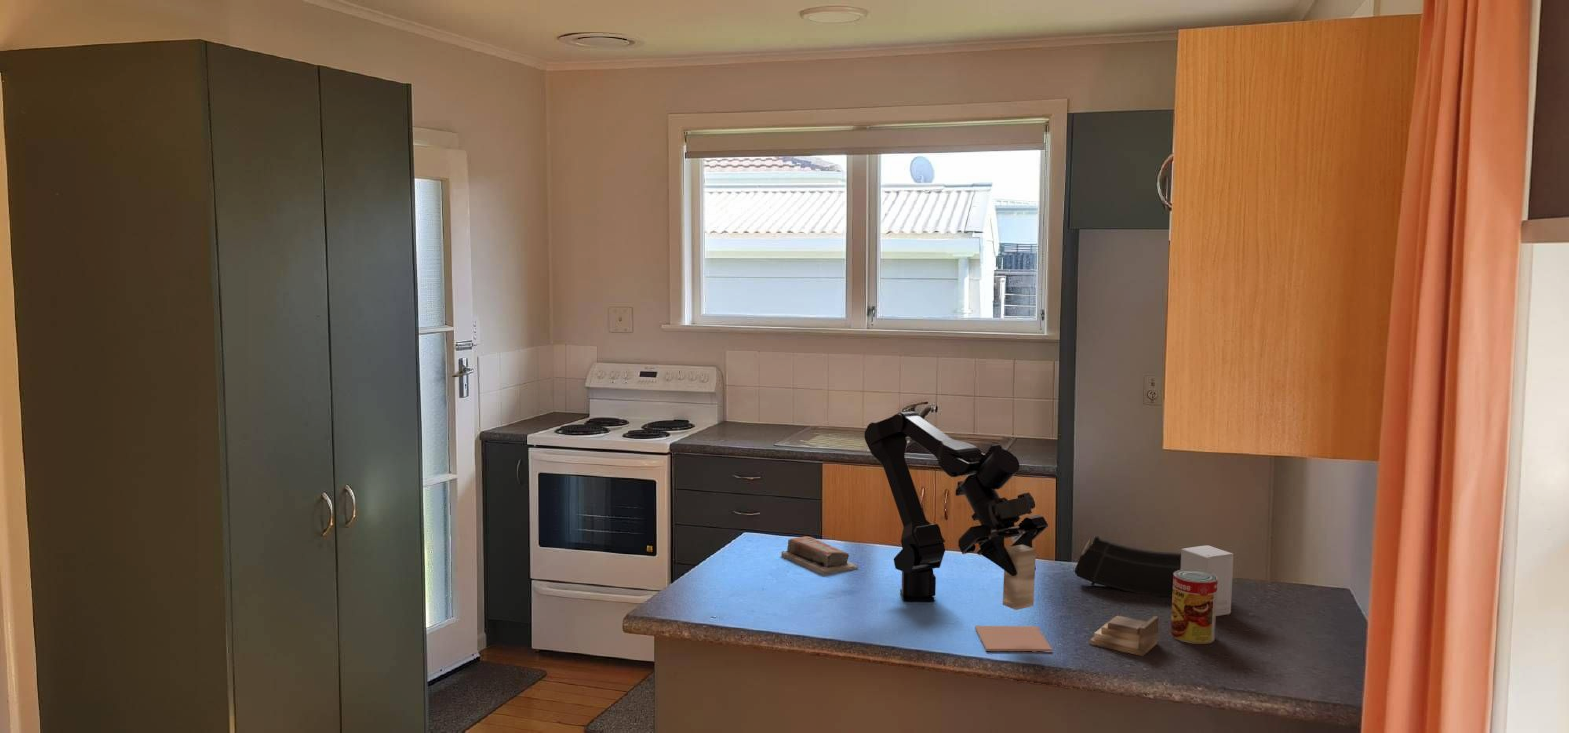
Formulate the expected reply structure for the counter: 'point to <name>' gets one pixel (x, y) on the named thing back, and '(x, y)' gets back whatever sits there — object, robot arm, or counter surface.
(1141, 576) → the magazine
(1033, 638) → the tile
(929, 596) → the robot arm
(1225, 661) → the counter surface
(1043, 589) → the counter surface
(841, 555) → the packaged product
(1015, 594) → the tall wooden block
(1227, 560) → the supplement box
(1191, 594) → the canned food
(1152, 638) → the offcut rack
